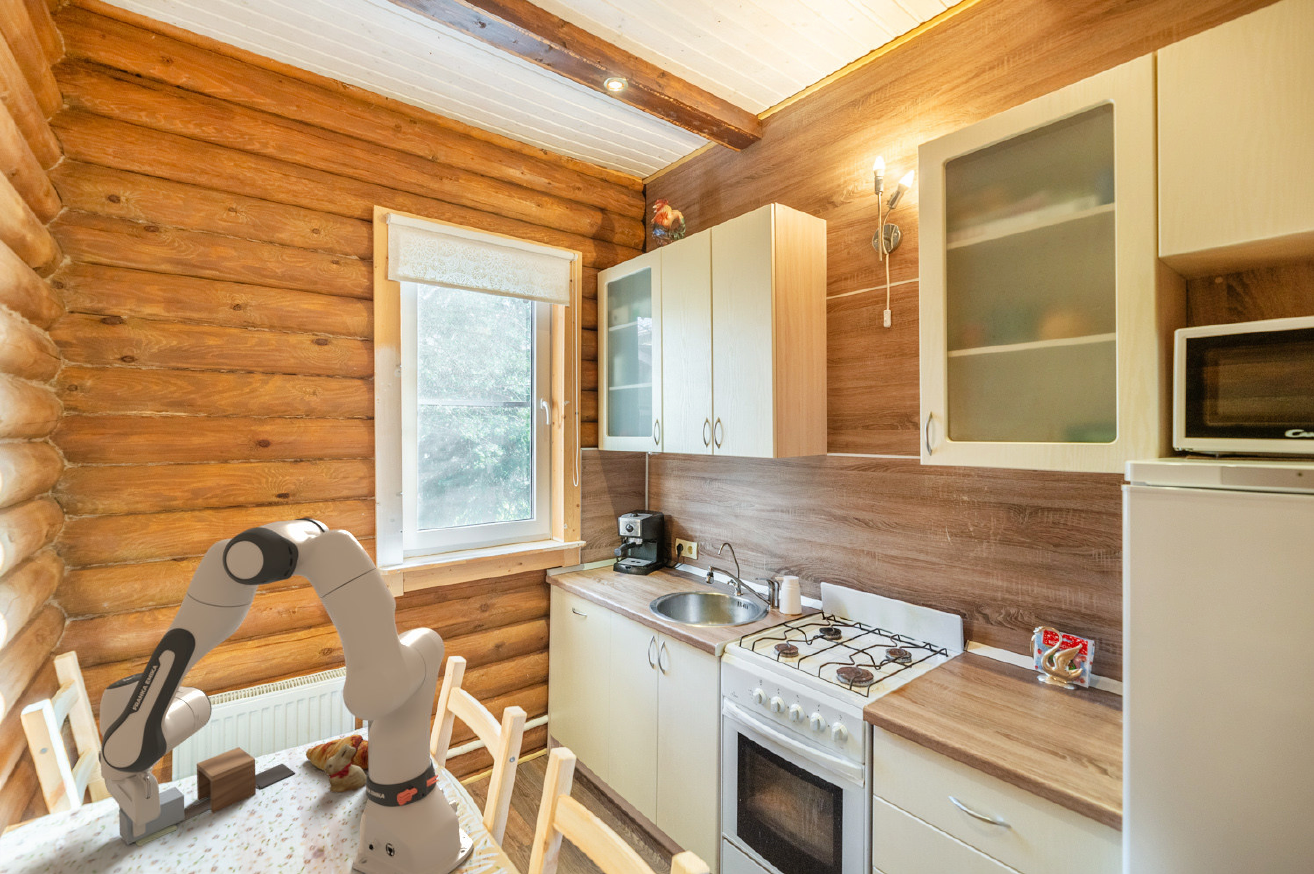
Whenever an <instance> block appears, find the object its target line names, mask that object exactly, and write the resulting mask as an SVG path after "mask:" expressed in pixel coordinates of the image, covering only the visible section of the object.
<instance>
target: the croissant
mask: <svg viewBox="0 0 1314 874" xmlns="http://www.w3.org/2000/svg"><path fill="white" fill-rule="evenodd" d="M345 744H348V745H349V746H350V747H354V748H355V749H356V753H355V754H354V755H353V756H352V757H351V760H350V762H351V765H356V766H359V767H361V768H362V770H366V769H367V770H368V739H367V740H366V739H364V738H363V736H362V735H360V734H357V733H356V734H351V735H350V736H345V737H344V738H337V739H333V740H330V741H328V742H326V743H320V744H317V745H315V746H313V747H311V748H308V749H307V751H306V753H305V755H306V759H307V760H308V761H310V763H311V765H313V766H315V768H316V767H317V769H319V770H322V771H323V772H325V765H326V762H327V760H328V759H329V758H331V757H333V756H335V755H336V754H337V753H338V751H339V750H340V749H341V748H342V747H343V746H344V745H345Z"/></svg>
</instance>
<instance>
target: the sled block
mask: <svg viewBox="0 0 1314 874" xmlns="http://www.w3.org/2000/svg"><path fill="white" fill-rule="evenodd" d="M159 796H160V815H159V817H158V818H156V819H154V820H152V821H150V822H148V823H146V824H145V826H146V831H145V833H144V834H142V835H139V836H137V837H134V836H133V834H132V830H131V826H133V821H132V820H131V819H130V818H129V816H128V815H127V814H126V813H125V812H124V810H123V809H120V808H119V809H118V817H119V818H118V820H119V822H118V823H119V835H120V837H121V839H123V841H124V842H125V843H126V845H130V844H132V843H136V842H135V841H137V840H139V839H142V838H144V837H146V836H148V835H150V834H153V833H155V832H157V831H159V830H162V829H164V828H166V827H168V826H171V825H173V824H175V823H177V822H180V821H182V820H184V819H185V815H184V809H185V795H184V794H183V793H182V792H181V791H180V790H179V789H178V787H176V786H174V787H172V788H169V789H167V790H166V789H165V791H162V792H159ZM184 821H185V820H184ZM182 822H183V821H182ZM180 823H181V822H180ZM175 825H176V824H175Z"/></svg>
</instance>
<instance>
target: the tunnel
mask: <svg viewBox="0 0 1314 874" xmlns="http://www.w3.org/2000/svg"><path fill="white" fill-rule="evenodd" d="M295 774H296V773H295V771H294V770H292V769H291V768H289V767H288V766H286V764H284V763H279V764H278V765H276V766H273V767H270V768H268V769H265V770H263V771H262V772H259V773H257V774H256V759H255V758H254V757H253V756H252V755H250V754H249V753H248V752H246V751H245V750H244V749H242V747H239V746H238V747H236V748H233V749H231V750H228V751H225V752H222V753H220V754H218V755H215V756H213V757H209V758H207V759H205V760H203V761H199V762H197V763H196V784H197V785H196V786H197V787H196V788H197V789H196V791H197V795H196V796H197V800H198V801H200V802H198V803H196V804H193V805H191V806H189V807H187V808H184V815H185V819H184V820H182V821H180V822H177V823H175V824H173V825H171V826H168V827H166V828H164V829H162V830H159V831H157V832H155V833H153V834H150V835H148V836H146V837H144V838H142V839H139V840H137V841H135V842H134V843H135V844H136V845H137V846H138V847H141V846H143V845H145V844H148V843H150V842H153V841H154V840H156V839H159V838H160V837H162V836H166V835H167V834H170V833H171V832H174V831H176V830H178V826H176V825H177V824H179V823H182V822H184V821H186V820H188V819H189V820H190V818H193V817H195V816H197V815H200V814H202V813H204V812H207V811H209V810H210V812H211V813H212V814H215V813H217V812H220V811H222V810H224V809H225V808H228V807H230V806H232V805H234V804H236V803H239V802H241V801H243V800H244V801H245V799H248V798H250V797H252V796H254V795H257V792H256V791H257V790H256V789H257V788H259V789H261V790H263V789H264V788H267V787H268V786H270V785H273V784H275V783H277V782H281V781H282V780H285V779H286V778H288V777H291V776H293V775H295ZM206 798H207V799H206ZM204 799H205V800H204ZM202 800H203V801H202Z"/></svg>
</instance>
